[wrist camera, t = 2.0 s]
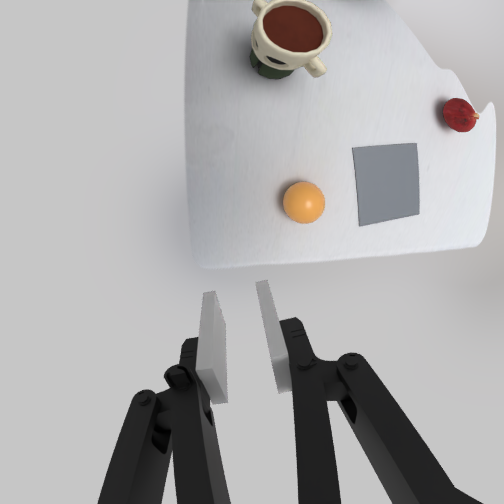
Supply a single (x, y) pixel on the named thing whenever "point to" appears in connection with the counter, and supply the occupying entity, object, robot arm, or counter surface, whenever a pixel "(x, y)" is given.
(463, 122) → the onion
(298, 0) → the character mug
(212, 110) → the counter surface
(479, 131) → the counter surface
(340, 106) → the counter surface
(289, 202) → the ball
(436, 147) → the counter surface
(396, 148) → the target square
